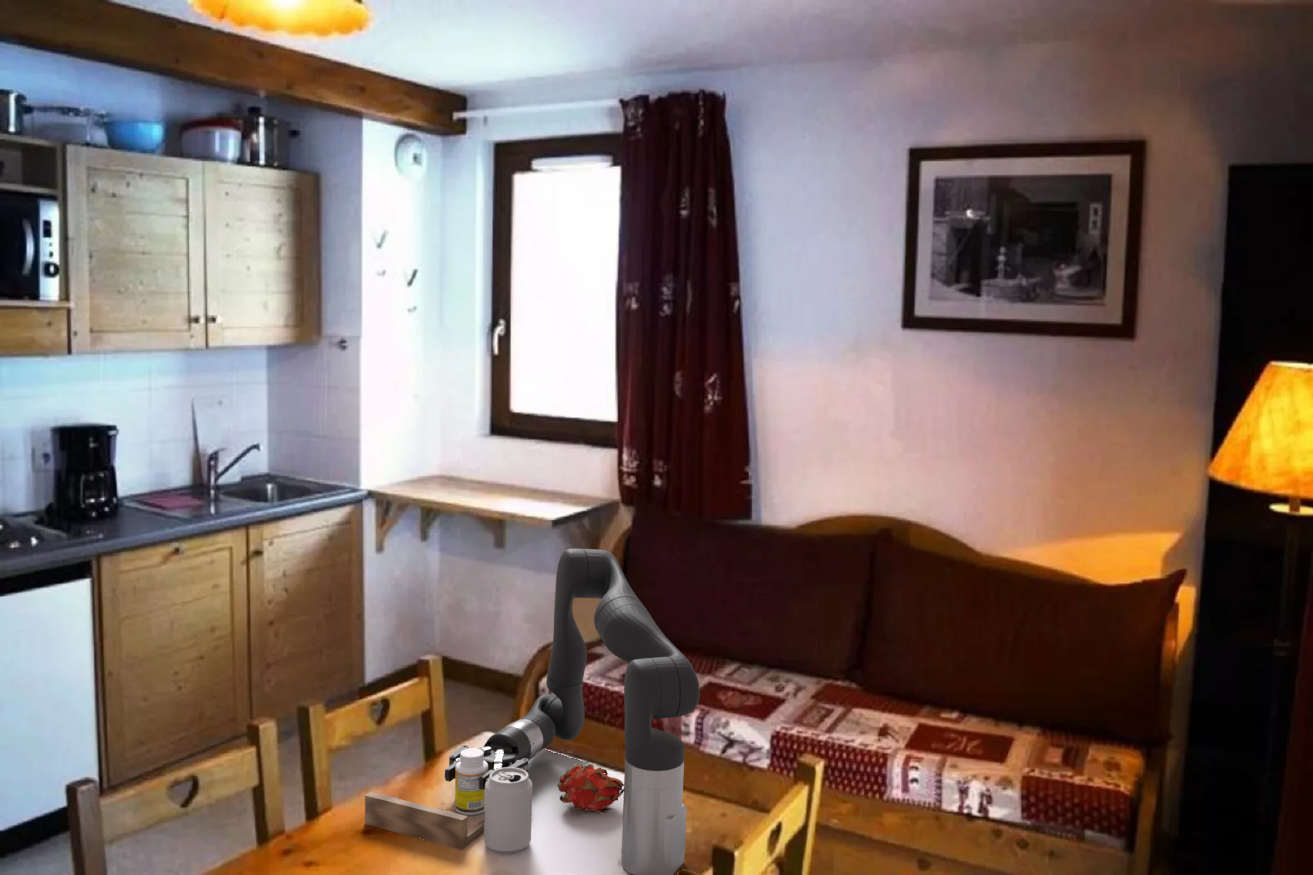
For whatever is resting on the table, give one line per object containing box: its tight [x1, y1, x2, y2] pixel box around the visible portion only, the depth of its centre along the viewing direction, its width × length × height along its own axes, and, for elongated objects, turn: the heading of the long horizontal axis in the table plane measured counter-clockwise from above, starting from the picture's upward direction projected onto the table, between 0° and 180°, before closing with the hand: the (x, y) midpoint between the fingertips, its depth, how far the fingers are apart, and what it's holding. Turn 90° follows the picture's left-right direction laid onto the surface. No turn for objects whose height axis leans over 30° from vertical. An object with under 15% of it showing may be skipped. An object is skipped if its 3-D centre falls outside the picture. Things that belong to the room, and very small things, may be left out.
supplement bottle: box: [454, 747, 488, 816], centre depth 189 cm, size 6×6×10 cm
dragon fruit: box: [557, 764, 624, 815], centre depth 191 cm, size 8×8×12 cm
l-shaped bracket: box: [364, 791, 484, 851], centre depth 182 cm, size 19×8×5 cm, turn 67°
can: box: [483, 767, 533, 855], centre depth 177 cm, size 8×8×12 cm
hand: (464, 780), depth 186 cm, fingers open, 6 cm apart
